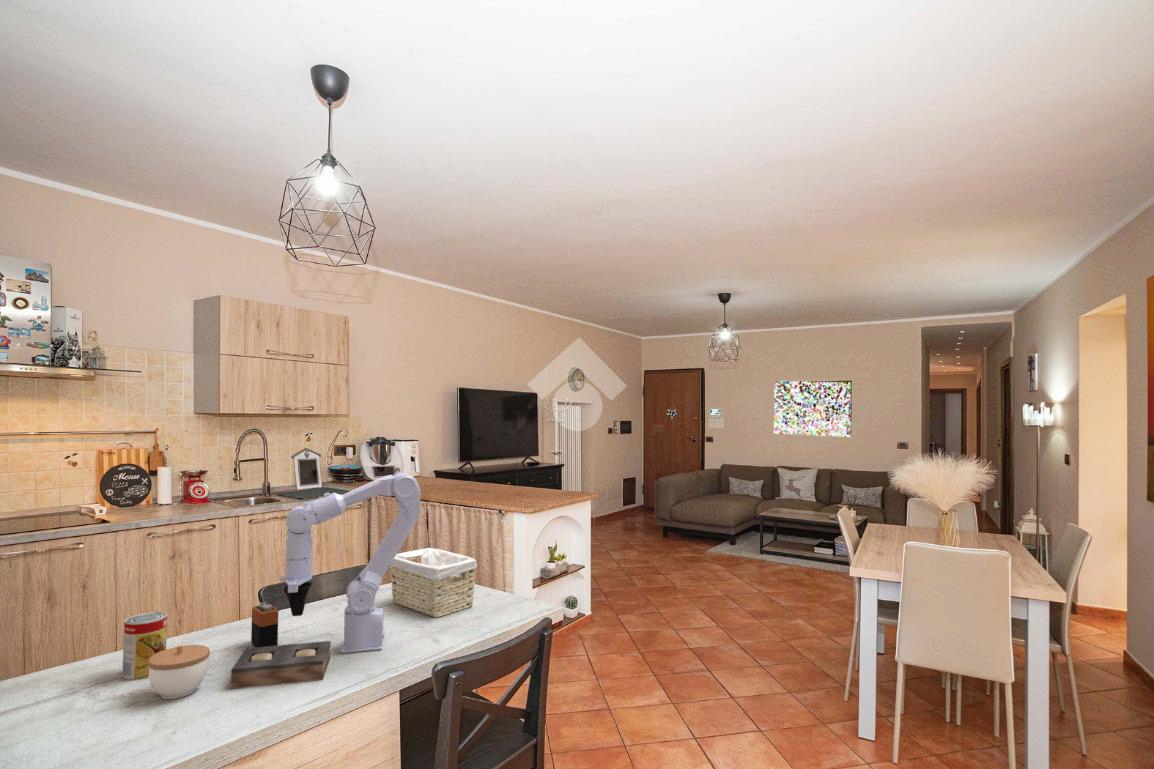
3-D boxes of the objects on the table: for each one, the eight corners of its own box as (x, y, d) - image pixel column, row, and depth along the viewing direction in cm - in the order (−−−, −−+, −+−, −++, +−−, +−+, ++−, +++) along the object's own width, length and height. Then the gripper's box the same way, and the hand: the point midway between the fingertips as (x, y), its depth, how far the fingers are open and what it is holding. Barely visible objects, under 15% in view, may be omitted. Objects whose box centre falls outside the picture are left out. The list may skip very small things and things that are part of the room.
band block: (330, 658, 145) (330, 640, 145) (322, 679, 133) (323, 660, 133) (245, 666, 140) (246, 648, 140) (230, 688, 128) (231, 669, 129)
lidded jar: (162, 709, 119) (164, 660, 120) (136, 696, 125) (138, 649, 126) (218, 688, 129) (220, 643, 129) (192, 677, 134) (193, 633, 135)
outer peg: (273, 668, 138) (273, 652, 138) (269, 675, 134) (269, 658, 134) (253, 670, 137) (254, 653, 137) (248, 677, 133) (249, 660, 133)
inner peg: (316, 664, 140) (316, 648, 140) (313, 671, 136) (313, 654, 136) (297, 666, 139) (297, 649, 139) (293, 673, 135) (294, 656, 135)
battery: (259, 651, 149) (260, 609, 149) (250, 643, 154) (251, 603, 154) (278, 646, 152) (279, 605, 152) (269, 639, 157) (270, 599, 157)
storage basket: (479, 607, 183) (479, 557, 184) (434, 621, 171) (435, 567, 172) (430, 592, 199) (430, 546, 199) (385, 604, 186) (386, 555, 187)
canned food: (173, 667, 139) (175, 614, 140) (139, 682, 132) (141, 625, 132) (149, 663, 142) (150, 610, 142) (113, 677, 134) (115, 621, 135)
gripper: (286, 552, 154) (285, 607, 153) (274, 565, 140) (272, 626, 139) (317, 550, 155) (316, 604, 155) (307, 563, 141) (306, 623, 141)
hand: (297, 615), depth 147 cm, fingers closed
